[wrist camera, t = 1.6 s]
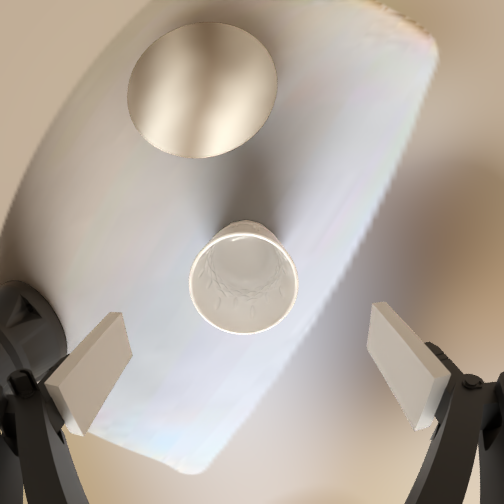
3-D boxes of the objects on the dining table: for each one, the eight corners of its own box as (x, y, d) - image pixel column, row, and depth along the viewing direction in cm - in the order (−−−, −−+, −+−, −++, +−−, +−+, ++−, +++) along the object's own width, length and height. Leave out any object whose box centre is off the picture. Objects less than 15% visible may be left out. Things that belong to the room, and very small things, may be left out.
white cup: (207, 213, 30) (187, 230, 20) (285, 215, 30) (302, 233, 20) (208, 286, 32) (191, 332, 22) (281, 288, 32) (293, 335, 22)
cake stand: (148, 167, 29) (128, 166, 23) (148, 55, 25) (130, 35, 20) (276, 157, 28) (281, 152, 23) (268, 42, 25) (272, 18, 20)
